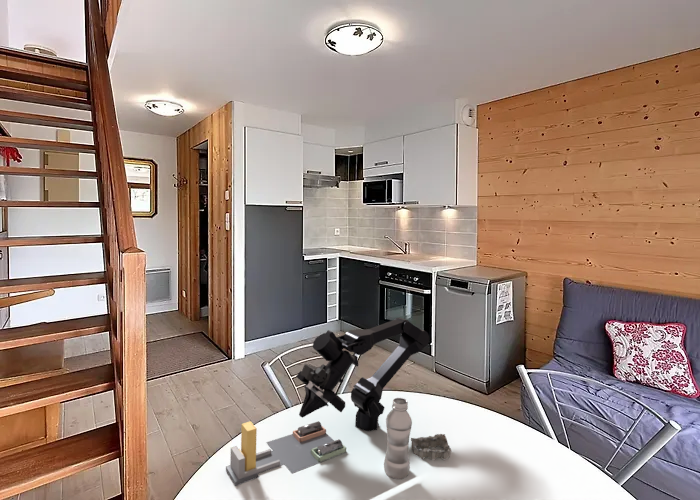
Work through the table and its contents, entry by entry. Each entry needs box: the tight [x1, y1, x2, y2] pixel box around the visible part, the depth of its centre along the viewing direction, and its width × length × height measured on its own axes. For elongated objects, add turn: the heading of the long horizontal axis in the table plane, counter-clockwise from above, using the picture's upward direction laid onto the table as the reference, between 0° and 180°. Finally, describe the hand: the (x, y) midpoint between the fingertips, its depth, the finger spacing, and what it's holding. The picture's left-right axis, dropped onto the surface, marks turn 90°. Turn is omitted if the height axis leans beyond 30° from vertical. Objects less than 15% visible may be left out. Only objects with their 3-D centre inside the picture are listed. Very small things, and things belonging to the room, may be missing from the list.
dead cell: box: [297, 421, 322, 437], centre depth 119 cm, size 7×3×3 cm, turn 125°
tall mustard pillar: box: [240, 420, 258, 471], centre depth 102 cm, size 2×4×11 cm, turn 35°
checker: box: [225, 425, 348, 486], centre depth 109 cm, size 30×16×6 cm, turn 125°
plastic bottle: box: [383, 397, 413, 480], centre depth 103 cm, size 6×7×20 cm
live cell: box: [317, 439, 344, 457], centre depth 110 cm, size 7×3×3 cm, turn 125°
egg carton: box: [410, 433, 452, 461], centre depth 114 cm, size 11×8×4 cm
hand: (300, 416), depth 110 cm, fingers closed
